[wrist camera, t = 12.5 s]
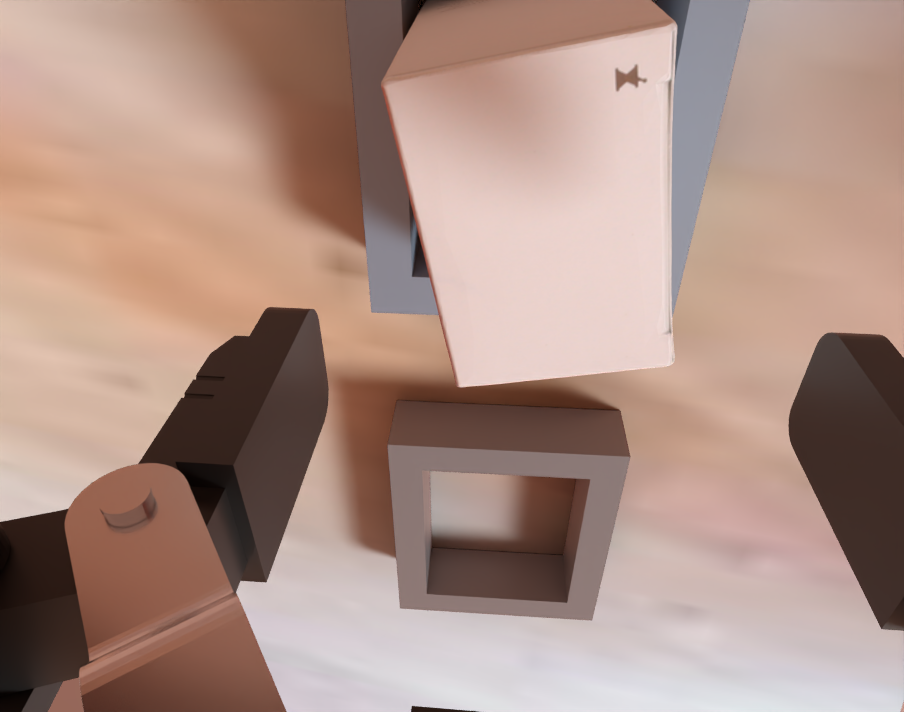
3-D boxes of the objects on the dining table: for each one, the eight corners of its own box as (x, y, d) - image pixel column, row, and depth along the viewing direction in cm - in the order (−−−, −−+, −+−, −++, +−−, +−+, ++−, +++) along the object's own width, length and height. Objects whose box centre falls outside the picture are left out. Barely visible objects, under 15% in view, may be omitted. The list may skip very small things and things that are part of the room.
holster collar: (620, 410, 30) (630, 456, 28) (586, 572, 38) (591, 620, 35) (396, 400, 31) (387, 444, 28) (406, 562, 38) (400, 608, 36)
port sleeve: (732, -124, 18) (780, -123, 15) (650, 268, 26) (670, 324, 23) (364, -124, 19) (334, -125, 16) (387, 259, 26) (371, 312, 23)
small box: (426, -10, 21) (371, 69, 12) (606, -48, 20) (682, 9, 11) (470, 222, 25) (452, 396, 17) (617, 200, 24) (677, 372, 16)
